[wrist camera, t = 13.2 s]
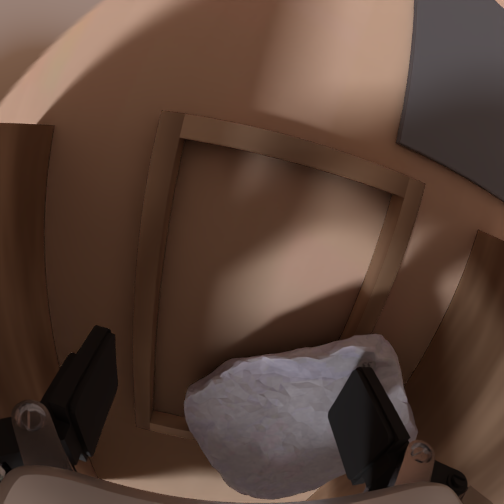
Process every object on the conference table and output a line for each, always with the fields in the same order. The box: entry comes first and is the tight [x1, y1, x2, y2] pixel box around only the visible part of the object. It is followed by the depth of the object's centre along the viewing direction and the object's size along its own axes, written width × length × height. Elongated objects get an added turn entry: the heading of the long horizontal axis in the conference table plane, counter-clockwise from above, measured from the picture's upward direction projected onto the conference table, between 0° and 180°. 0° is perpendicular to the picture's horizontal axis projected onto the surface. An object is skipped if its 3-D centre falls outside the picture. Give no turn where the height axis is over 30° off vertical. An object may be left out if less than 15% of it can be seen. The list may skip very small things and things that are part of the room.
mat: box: [396, 0, 504, 202], centre depth 10 cm, size 11×16×1 cm
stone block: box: [184, 334, 418, 499], centre depth 14 cm, size 12×5×10 cm
